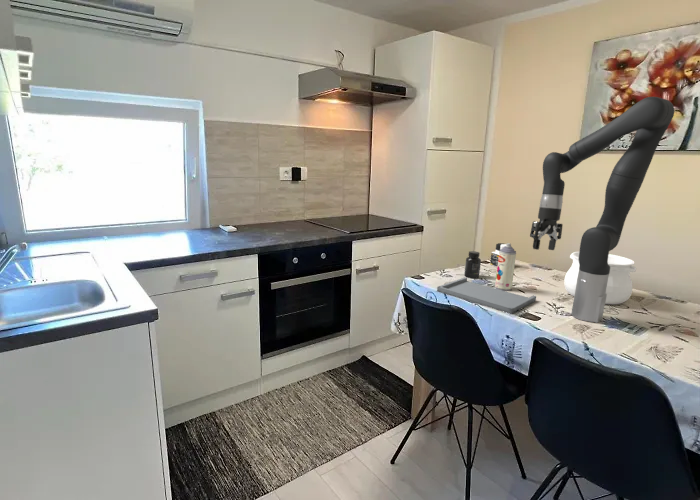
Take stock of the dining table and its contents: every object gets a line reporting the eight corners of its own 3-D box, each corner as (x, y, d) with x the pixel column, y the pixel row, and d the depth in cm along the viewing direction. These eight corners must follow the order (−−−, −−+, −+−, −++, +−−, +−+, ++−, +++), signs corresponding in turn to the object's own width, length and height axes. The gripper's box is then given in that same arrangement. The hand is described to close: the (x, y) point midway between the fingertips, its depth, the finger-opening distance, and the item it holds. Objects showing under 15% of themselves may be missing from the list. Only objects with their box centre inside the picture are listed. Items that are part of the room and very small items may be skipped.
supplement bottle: (480, 276, 192) (483, 252, 189) (476, 279, 187) (479, 254, 184) (466, 273, 196) (469, 249, 193) (462, 276, 190) (464, 252, 188)
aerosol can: (492, 285, 178) (497, 241, 174) (506, 285, 179) (512, 242, 174) (499, 290, 172) (504, 245, 167) (514, 290, 172) (520, 245, 168)
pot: (548, 290, 175) (554, 253, 171) (583, 284, 186) (590, 248, 182) (608, 310, 153) (616, 268, 149) (643, 302, 164) (652, 262, 160)
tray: (535, 300, 161) (536, 296, 160) (511, 314, 146) (512, 308, 145) (464, 281, 183) (464, 277, 183) (436, 291, 168) (437, 286, 167)
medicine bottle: (489, 264, 215) (492, 242, 212) (499, 263, 218) (502, 242, 215) (499, 268, 208) (502, 245, 206) (509, 267, 211) (512, 244, 209)
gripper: (546, 206, 145) (539, 250, 147) (572, 209, 151) (564, 251, 153) (528, 205, 151) (522, 247, 154) (554, 207, 158) (547, 248, 160)
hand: (543, 249), depth 153 cm, fingers open, 8 cm apart
